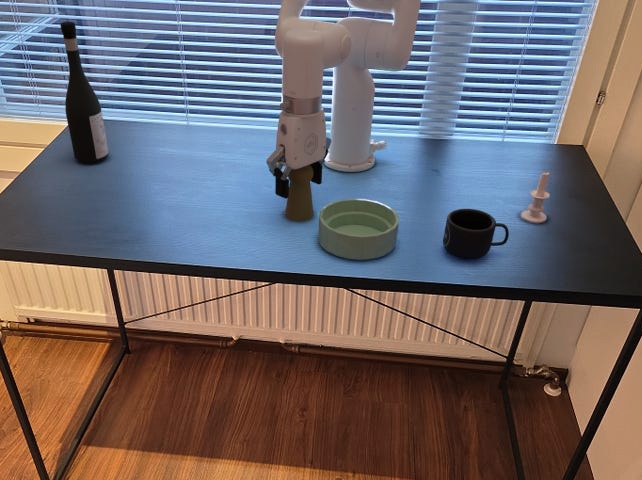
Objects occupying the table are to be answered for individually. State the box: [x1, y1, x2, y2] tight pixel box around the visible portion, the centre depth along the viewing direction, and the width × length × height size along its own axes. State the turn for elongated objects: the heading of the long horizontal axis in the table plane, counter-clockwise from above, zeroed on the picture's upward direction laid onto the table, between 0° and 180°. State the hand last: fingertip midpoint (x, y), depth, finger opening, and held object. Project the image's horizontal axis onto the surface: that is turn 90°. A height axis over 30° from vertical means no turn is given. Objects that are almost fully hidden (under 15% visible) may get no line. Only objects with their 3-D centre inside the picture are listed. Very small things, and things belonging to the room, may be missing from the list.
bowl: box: [317, 198, 400, 261], centre depth 129 cm, size 15×15×6 cm
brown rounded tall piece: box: [284, 165, 315, 223], centre depth 136 cm, size 6×6×11 cm
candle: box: [520, 171, 550, 225], centre depth 136 cm, size 5×5×10 cm
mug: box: [442, 208, 510, 261], centre depth 126 cm, size 12×9×7 cm
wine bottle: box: [60, 21, 109, 165], centre depth 150 cm, size 8×8×30 cm
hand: (298, 189), depth 135 cm, fingers open, 9 cm apart
